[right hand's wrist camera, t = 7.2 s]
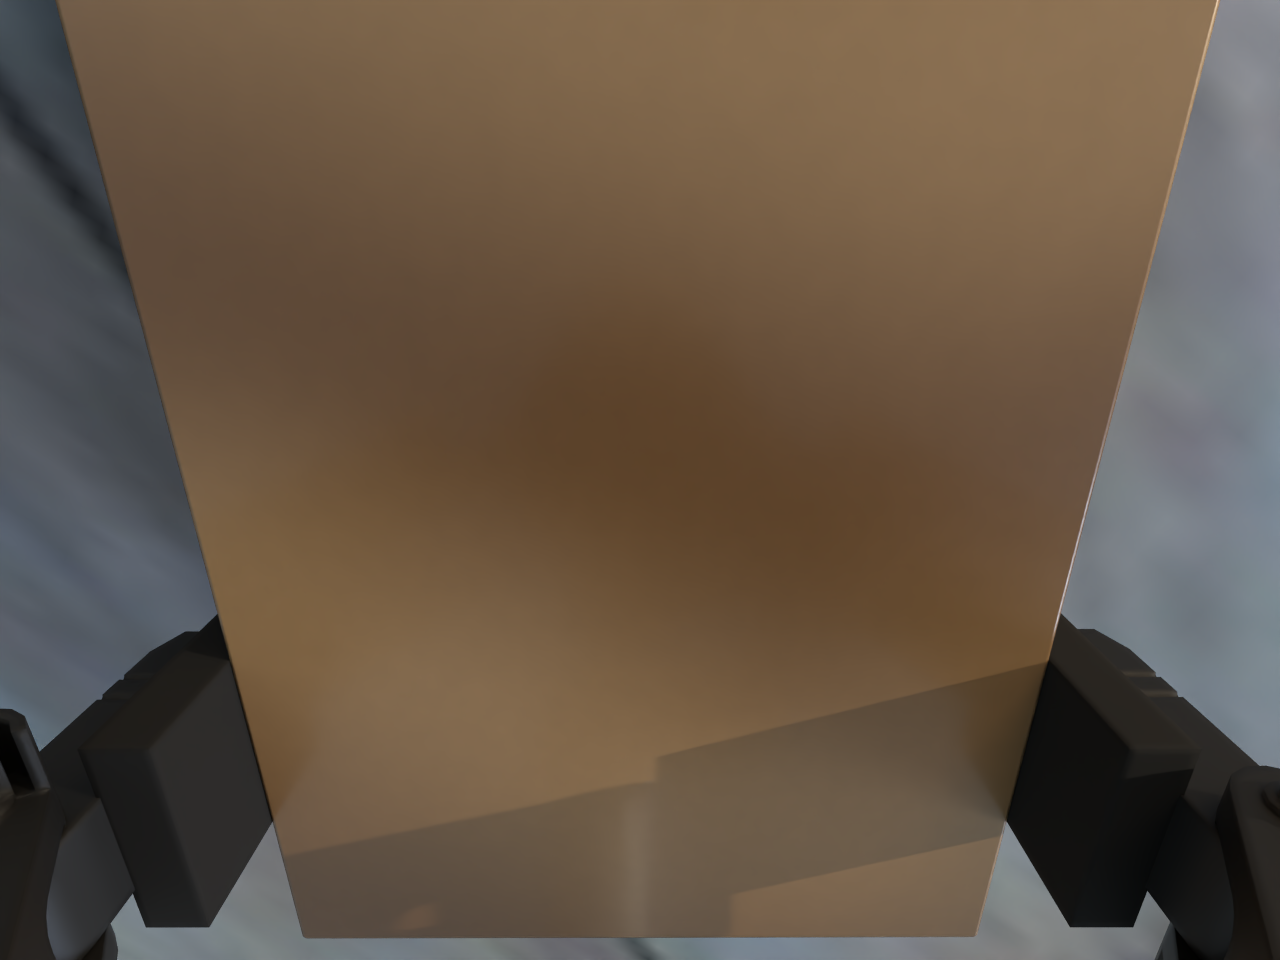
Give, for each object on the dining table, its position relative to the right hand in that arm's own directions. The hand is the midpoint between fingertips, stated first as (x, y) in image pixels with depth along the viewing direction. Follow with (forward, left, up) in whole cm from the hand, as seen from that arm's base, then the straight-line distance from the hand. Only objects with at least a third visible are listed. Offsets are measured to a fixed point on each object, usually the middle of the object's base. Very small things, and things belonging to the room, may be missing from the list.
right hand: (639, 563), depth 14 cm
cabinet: (+4, +3, -4) cm, 6 cm away
